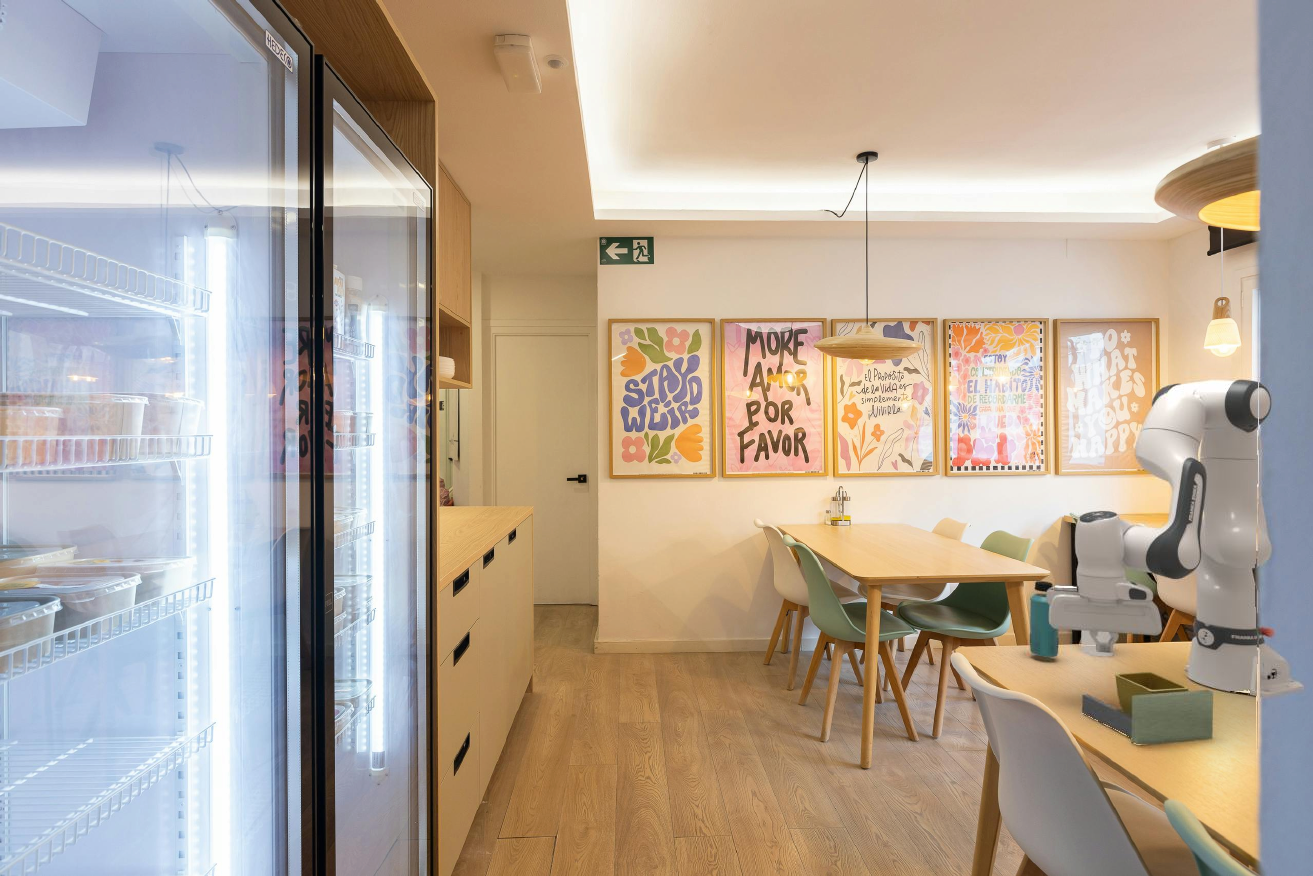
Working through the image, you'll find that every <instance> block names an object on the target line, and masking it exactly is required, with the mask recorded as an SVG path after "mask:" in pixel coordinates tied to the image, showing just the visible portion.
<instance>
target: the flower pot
mask: <svg viewBox="0 0 1313 876" xmlns="http://www.w3.org/2000/svg"><path fill="white" fill-rule="evenodd" d="M1115 685H1116V690H1117V692H1116V693H1117V699H1118V702H1119V705H1120V707H1121V709H1122V711H1123V712H1125V713H1128V714H1130V715H1132V696H1134V695H1147V694H1159V693H1172V692H1184V691H1190V690H1189V689H1190V688H1189V687H1187V686H1186V685H1183V684H1180V683H1178V682H1176V681H1174V680H1171V679H1170V678H1166V677H1164V676H1161V675H1159V674H1157V673H1154V672H1150V671H1144V672H1143V671H1142V672H1129V673H1128V672H1127V673H1124V672H1123V673H1116V674H1115Z"/></svg>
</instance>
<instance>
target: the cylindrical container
mask: <svg viewBox="0 0 1313 876" xmlns="http://www.w3.org/2000/svg"><path fill="white" fill-rule="evenodd" d="M1080 631H1081V634H1080V635H1081V637H1080V639H1081V640H1080V641H1081V642H1080V643H1081V645H1096V643H1095V642H1094V640H1093V639H1092V637H1091V636H1090V634H1089V631H1085V630H1080ZM1095 637H1096V638H1097V640H1098V641H1099V642H1108V641H1109V639H1110V638H1111V636H1110V634H1109V632H1100V631H1098V636H1095ZM1080 650H1081V652H1083V653H1084V654H1087V655H1090V656H1094V657H1100V656H1101V658H1102V657H1103V658H1109V657H1108V656H1111V657H1113V656H1114V652H1113V653H1107V652H1097V651H1096V646H1081V647H1080ZM1112 655H1113V656H1112Z"/></svg>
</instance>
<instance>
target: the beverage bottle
mask: <svg viewBox="0 0 1313 876" xmlns="http://www.w3.org/2000/svg"><path fill="white" fill-rule="evenodd" d="M1051 587H1054V585H1053V583H1052V582H1049V581H1041V580H1039V581H1038V580H1037V581H1035V582H1034V590H1035V591H1039V592H1041V593H1039V592H1038V593H1035V594H1033V595H1031V596H1030V599H1029V600H1030V601H1029V602H1030V605H1029V606H1030V609H1029V610H1030V612H1029V614H1030V616H1029V649H1030V653H1031V654H1033V655H1036V656H1040V657H1044V658H1055V657H1058V654H1059V651H1060V650H1059V643H1060V642H1059V631H1060V629H1056V628H1053V627H1052V626H1051V625H1050V623H1049V606H1050V605H1049V604H1048V602H1047V600H1046V592H1047V590H1048V589H1049V588H1051ZM1052 590H1054V589H1052ZM1043 592H1044V593H1043Z"/></svg>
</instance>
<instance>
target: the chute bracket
mask: <svg viewBox="0 0 1313 876" xmlns="http://www.w3.org/2000/svg"><path fill="white" fill-rule="evenodd" d="M1081 698H1082V701H1081V703H1082V704H1081V705H1082V706H1081V707H1082V708H1081V709H1082V710H1081V711H1082V712H1081V713H1084V714H1086V715H1088V716H1090V717H1092V718H1093V719H1096V720H1098V721H1100V722H1102V723H1104V724H1106V725H1108V726H1110V727H1112V728H1114V729H1116V730H1118V731H1120V732H1122V733H1124V734H1126V735H1127V736H1129V737H1130V738H1132V739H1131V743H1132V742H1133V743H1136V744H1151V745H1158V744H1159V745H1160V744H1169V743H1181V742H1190V741H1200V740H1211V739H1213V733H1214V732H1213V729H1214V728H1213V724H1214V722H1213V720H1214V717H1213V715H1214V691H1211V690H1209V689H1199V690H1197V689H1196V690H1188V691H1184V692H1172V693H1159V694H1147V695H1134V696H1132V715H1130V714H1128V713H1125V712H1124V711H1123V710H1121V709H1119V708H1117V707H1115V706H1113V705H1110V704H1109V703H1106V702H1105V701H1103V700H1100V699H1098V698H1096V697H1095V696H1094V697H1093V696H1092V695H1090V694H1087V693H1086V694H1082V697H1081ZM1084 714H1083V715H1084ZM1086 715H1085V716H1086ZM1088 716H1087V717H1088ZM1090 717H1089V718H1090ZM1092 718H1091V719H1092ZM1093 719H1092V720H1093ZM1130 738H1129V739H1130ZM1133 743H1132V744H1133Z"/></svg>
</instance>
